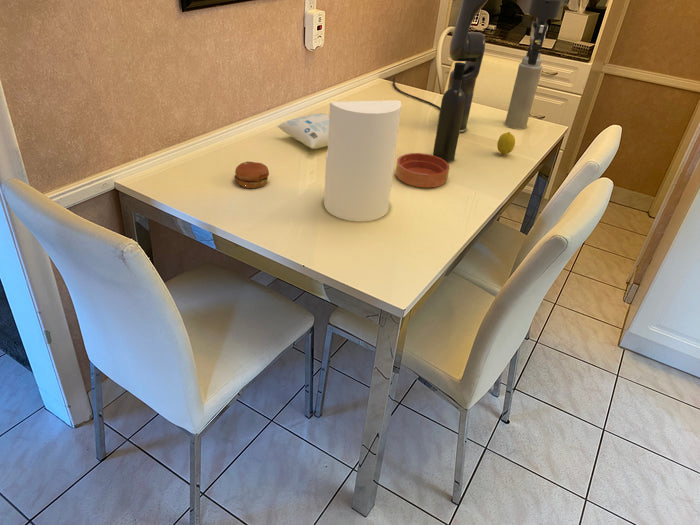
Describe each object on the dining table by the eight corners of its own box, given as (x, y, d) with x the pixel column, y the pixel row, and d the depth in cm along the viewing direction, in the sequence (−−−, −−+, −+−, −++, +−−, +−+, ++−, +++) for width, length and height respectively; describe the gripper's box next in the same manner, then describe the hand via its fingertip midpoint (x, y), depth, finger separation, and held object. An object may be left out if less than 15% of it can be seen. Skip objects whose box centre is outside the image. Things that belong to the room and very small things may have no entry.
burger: (253, 192, 142) (252, 176, 139) (227, 182, 146) (226, 166, 143) (276, 180, 149) (276, 164, 146) (251, 171, 153) (250, 156, 150)
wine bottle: (441, 154, 172) (458, 59, 155) (455, 160, 169) (473, 64, 152) (430, 158, 169) (446, 62, 152) (444, 164, 166) (462, 67, 149)
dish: (385, 171, 159) (387, 157, 156) (425, 163, 166) (427, 150, 163) (415, 193, 148) (417, 178, 145) (457, 183, 155) (460, 169, 152)
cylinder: (397, 218, 135) (412, 112, 119) (333, 224, 131) (339, 114, 115) (376, 188, 149) (387, 89, 133) (317, 192, 144) (321, 90, 128)
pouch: (311, 134, 158) (360, 120, 169) (275, 117, 170) (323, 104, 181) (312, 158, 163) (359, 143, 174) (277, 140, 175) (323, 127, 186)
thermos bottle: (505, 120, 205) (524, 44, 189) (526, 123, 203) (546, 48, 187) (504, 126, 199) (522, 49, 183) (525, 130, 197) (546, 52, 181)
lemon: (512, 159, 173) (518, 136, 168) (495, 157, 174) (500, 133, 169) (511, 153, 177) (517, 130, 173) (494, 150, 178) (500, 128, 174)
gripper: (532, -9, 144) (517, 53, 153) (533, -1, 133) (517, 65, 142) (560, -6, 143) (543, 56, 152) (564, 2, 131) (545, 68, 141)
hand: (530, 60), depth 147 cm, fingers open, 8 cm apart
